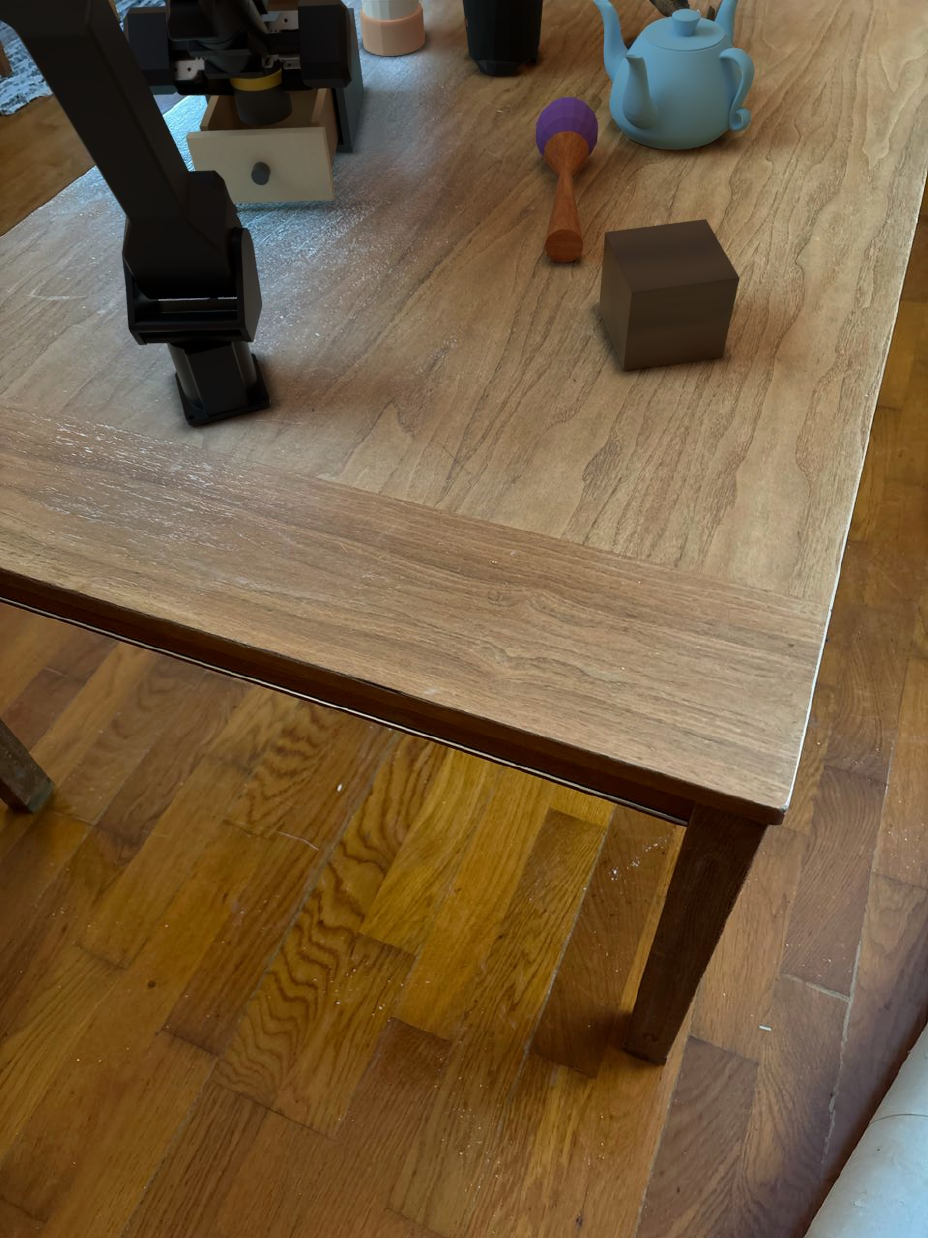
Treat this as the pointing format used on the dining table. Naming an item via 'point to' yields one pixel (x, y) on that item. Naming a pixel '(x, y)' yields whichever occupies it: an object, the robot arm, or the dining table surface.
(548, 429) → the dining table surface
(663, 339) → the block stand
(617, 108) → the teapot
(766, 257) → the dining table surface
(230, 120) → the drawer
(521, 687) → the dining table surface
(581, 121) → the purple maraca
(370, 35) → the pepper shaker
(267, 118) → the canister
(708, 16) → the eagle figurine
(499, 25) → the portable speaker
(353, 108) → the cabinet
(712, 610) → the dining table surface
